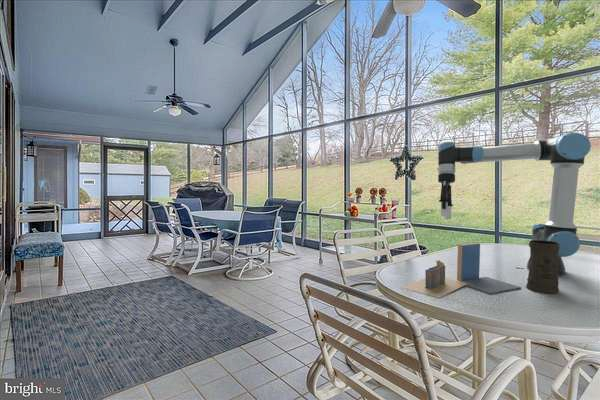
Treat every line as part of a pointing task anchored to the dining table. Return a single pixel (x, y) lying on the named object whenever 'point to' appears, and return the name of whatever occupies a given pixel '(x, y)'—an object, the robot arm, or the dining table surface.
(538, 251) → the beer stein
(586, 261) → the dining table surface
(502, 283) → the mat
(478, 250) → the tile
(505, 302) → the dining table surface
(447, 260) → the dining table surface
